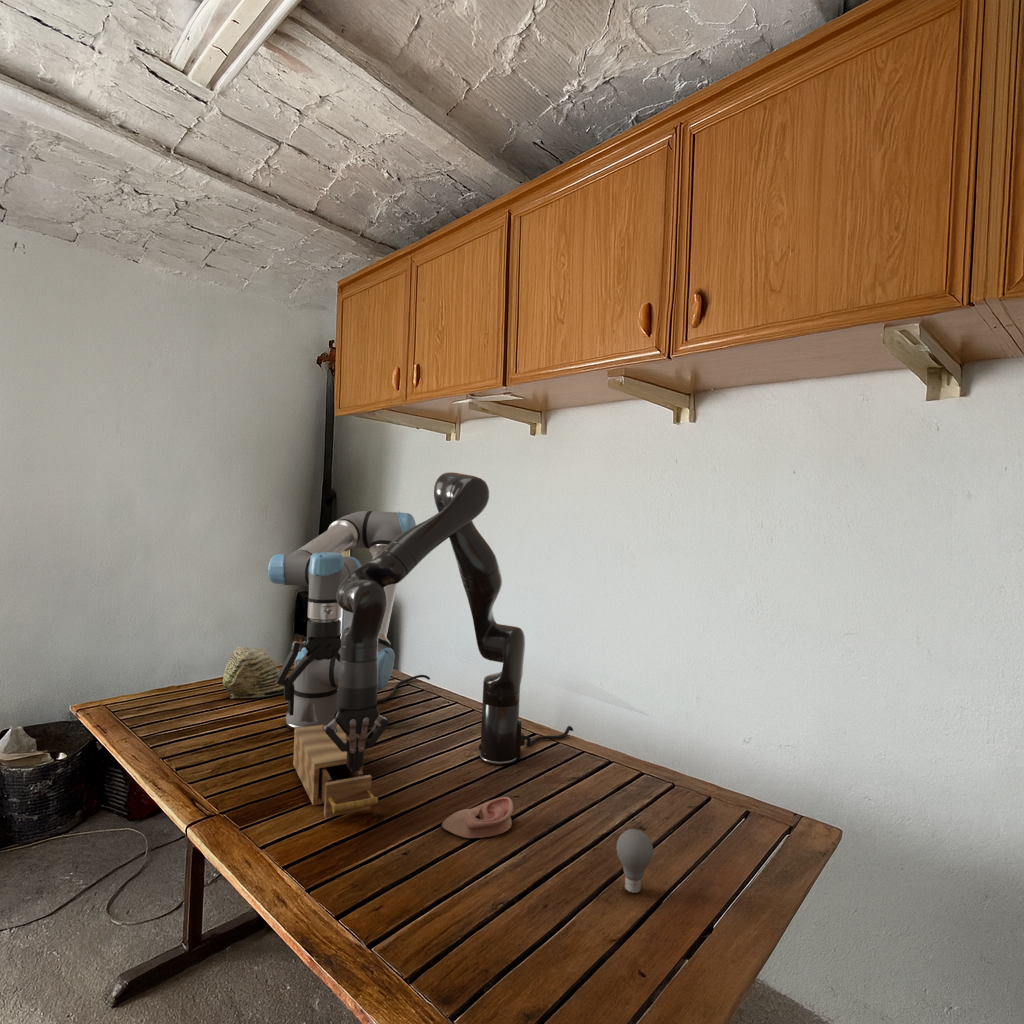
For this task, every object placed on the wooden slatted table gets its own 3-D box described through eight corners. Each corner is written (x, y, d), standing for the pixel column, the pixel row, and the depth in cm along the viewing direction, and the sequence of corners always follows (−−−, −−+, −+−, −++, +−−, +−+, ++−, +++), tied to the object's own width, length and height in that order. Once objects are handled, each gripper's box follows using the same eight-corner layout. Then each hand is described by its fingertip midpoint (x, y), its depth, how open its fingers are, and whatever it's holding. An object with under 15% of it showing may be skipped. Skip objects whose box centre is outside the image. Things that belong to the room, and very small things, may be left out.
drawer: (378, 821, 123) (380, 787, 123) (331, 831, 118) (333, 796, 118) (344, 769, 145) (345, 740, 145) (304, 776, 141) (305, 746, 141)
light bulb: (610, 879, 108) (613, 822, 108) (644, 879, 109) (647, 822, 109) (619, 902, 102) (622, 840, 102) (655, 901, 103) (658, 840, 103)
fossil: (218, 695, 195) (220, 647, 195) (278, 685, 208) (279, 640, 207) (228, 703, 189) (230, 653, 188) (289, 692, 201) (290, 645, 201)
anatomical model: (437, 813, 121) (454, 787, 132) (436, 833, 121) (454, 805, 132) (505, 823, 118) (517, 795, 129) (504, 844, 118) (516, 815, 129)
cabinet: (361, 796, 135) (363, 756, 135) (312, 805, 130) (314, 764, 130) (336, 757, 154) (338, 722, 154) (293, 764, 149) (294, 728, 149)
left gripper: (270, 625, 138) (266, 722, 138) (381, 619, 150) (377, 708, 151) (265, 619, 144) (261, 711, 145) (372, 613, 157) (368, 698, 157)
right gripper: (327, 690, 116) (324, 784, 116) (397, 682, 122) (393, 771, 122) (318, 679, 122) (315, 768, 123) (385, 672, 129) (381, 757, 129)
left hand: (320, 709), depth 148 cm, fingers open, 13 cm apart
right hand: (354, 769), depth 123 cm, fingers closed
